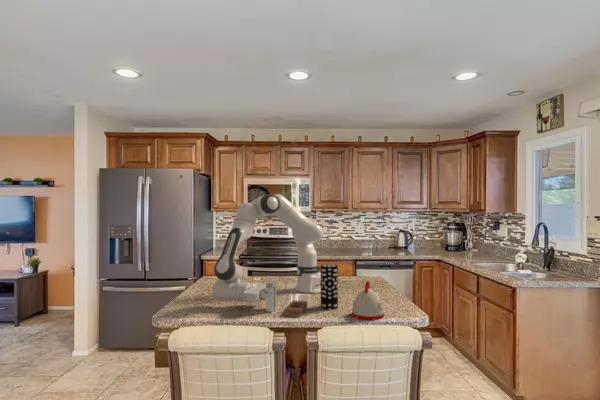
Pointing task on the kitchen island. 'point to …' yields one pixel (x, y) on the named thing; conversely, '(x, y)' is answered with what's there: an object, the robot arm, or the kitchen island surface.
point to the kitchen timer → (367, 305)
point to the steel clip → (271, 300)
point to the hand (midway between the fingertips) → (273, 293)
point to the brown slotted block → (295, 308)
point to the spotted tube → (329, 286)
